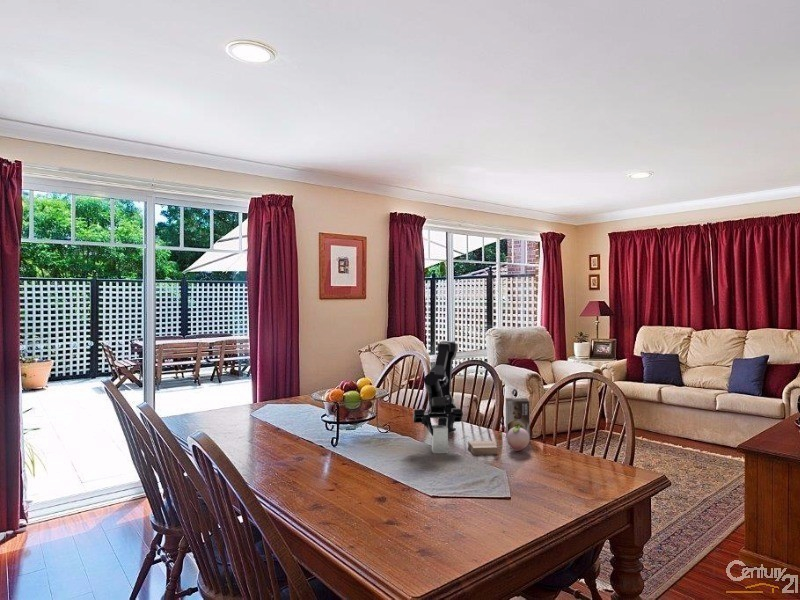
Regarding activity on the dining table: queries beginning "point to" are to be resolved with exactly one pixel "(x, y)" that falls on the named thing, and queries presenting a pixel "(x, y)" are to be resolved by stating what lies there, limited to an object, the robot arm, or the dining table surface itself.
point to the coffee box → (517, 414)
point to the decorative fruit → (518, 438)
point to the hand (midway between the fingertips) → (440, 435)
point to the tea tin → (440, 439)
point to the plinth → (482, 447)
